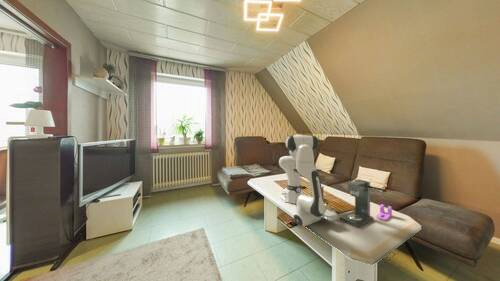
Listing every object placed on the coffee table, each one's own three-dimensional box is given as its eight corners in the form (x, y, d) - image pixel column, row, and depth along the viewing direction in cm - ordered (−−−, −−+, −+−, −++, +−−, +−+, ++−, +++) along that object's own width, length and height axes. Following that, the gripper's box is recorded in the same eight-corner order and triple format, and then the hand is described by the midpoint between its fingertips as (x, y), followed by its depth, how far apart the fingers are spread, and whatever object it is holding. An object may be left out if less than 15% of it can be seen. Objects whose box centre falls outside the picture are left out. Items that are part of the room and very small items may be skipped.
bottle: (322, 215, 120) (321, 201, 119) (327, 214, 121) (327, 200, 121) (327, 219, 115) (327, 204, 115) (333, 217, 117) (333, 203, 116)
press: (373, 234, 97) (373, 191, 96) (339, 219, 114) (339, 182, 113) (387, 225, 106) (387, 185, 105) (354, 213, 123) (354, 178, 122)
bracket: (381, 213, 122) (382, 203, 122) (391, 215, 118) (391, 206, 117) (375, 218, 114) (375, 208, 114) (385, 222, 110) (385, 211, 110)
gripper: (329, 215, 102) (342, 209, 109) (302, 203, 120) (316, 199, 127) (329, 225, 102) (342, 219, 109) (303, 212, 120) (316, 207, 127)
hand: (328, 208), depth 118 cm, fingers open, 8 cm apart
